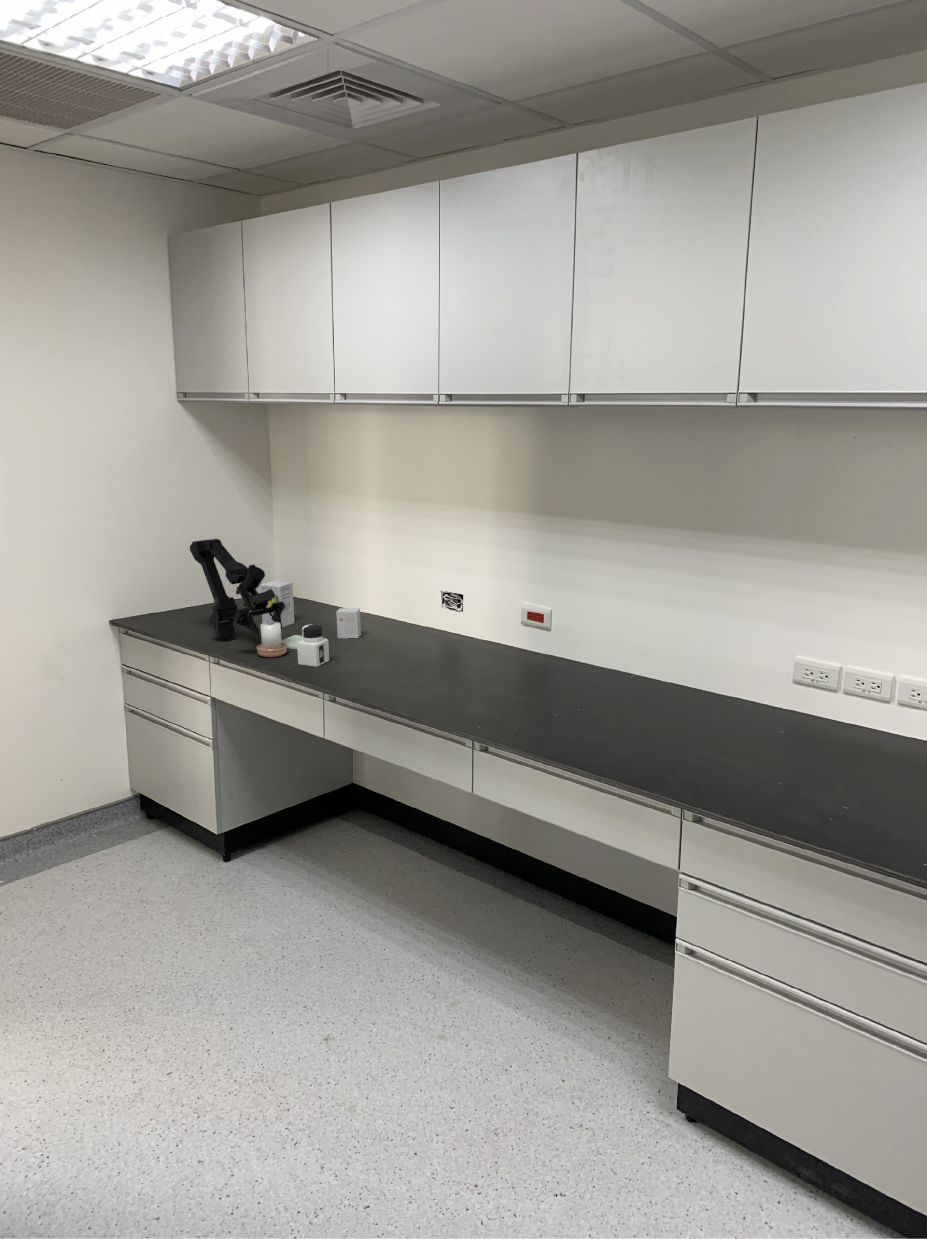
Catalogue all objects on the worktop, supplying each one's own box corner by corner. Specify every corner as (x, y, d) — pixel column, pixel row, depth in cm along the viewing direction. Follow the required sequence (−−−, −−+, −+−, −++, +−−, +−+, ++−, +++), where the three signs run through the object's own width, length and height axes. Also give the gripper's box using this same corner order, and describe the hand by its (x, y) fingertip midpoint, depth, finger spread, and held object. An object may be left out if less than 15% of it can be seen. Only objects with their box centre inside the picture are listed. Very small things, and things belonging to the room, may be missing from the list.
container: (329, 661, 302) (328, 624, 299) (316, 667, 295) (315, 629, 292) (310, 658, 305) (308, 622, 302) (297, 664, 298) (295, 627, 295)
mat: (273, 646, 320) (273, 644, 320) (294, 636, 333) (294, 634, 333) (305, 650, 315) (305, 648, 315) (326, 640, 327) (326, 638, 327)
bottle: (258, 647, 308) (256, 622, 305) (269, 642, 314) (267, 618, 311) (274, 649, 305) (272, 624, 303) (285, 644, 311) (284, 620, 309)
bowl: (250, 656, 307) (250, 648, 307) (268, 649, 317) (268, 641, 316) (276, 660, 303) (275, 651, 302) (293, 652, 313) (293, 644, 312)
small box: (361, 635, 335) (360, 608, 332) (358, 638, 330) (357, 611, 327) (340, 634, 336) (339, 607, 333) (337, 638, 330) (336, 611, 328)
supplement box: (261, 626, 349) (259, 584, 345) (275, 620, 358) (272, 580, 354) (282, 628, 346) (280, 586, 342) (295, 622, 354) (293, 581, 350)
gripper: (235, 586, 301) (255, 623, 297) (281, 579, 314) (301, 613, 309) (224, 606, 309) (244, 641, 304) (270, 597, 322) (289, 631, 317)
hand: (270, 631), depth 308 cm, fingers open, 9 cm apart
